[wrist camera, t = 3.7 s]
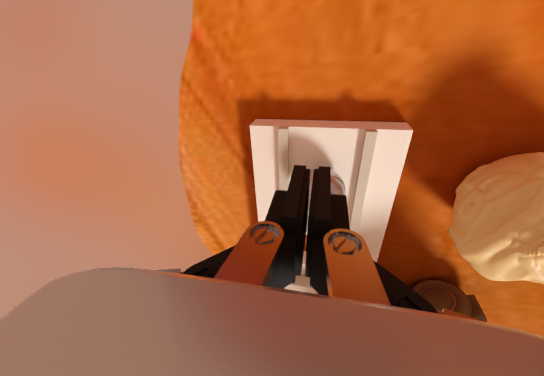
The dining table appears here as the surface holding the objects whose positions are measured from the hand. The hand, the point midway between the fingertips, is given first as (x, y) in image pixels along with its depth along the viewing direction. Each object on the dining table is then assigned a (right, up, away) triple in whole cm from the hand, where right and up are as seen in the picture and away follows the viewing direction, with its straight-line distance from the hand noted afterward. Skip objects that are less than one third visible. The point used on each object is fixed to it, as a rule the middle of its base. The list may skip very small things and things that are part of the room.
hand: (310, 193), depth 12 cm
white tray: (+5, -3, +21) cm, 22 cm away
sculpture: (+23, 0, +15) cm, 27 cm away
